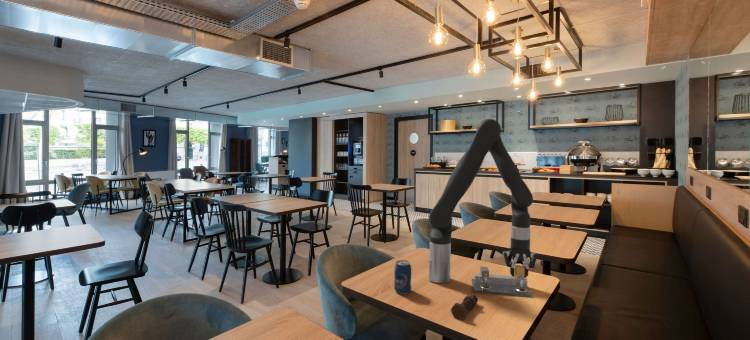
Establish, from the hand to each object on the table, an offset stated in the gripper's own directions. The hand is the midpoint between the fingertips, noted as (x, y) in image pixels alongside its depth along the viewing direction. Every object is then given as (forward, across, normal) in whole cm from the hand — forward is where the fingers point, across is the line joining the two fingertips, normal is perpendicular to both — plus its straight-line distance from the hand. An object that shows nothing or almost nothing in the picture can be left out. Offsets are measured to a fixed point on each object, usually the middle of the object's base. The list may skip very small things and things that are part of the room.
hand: (519, 276), depth 143 cm
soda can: (+5, -48, -13) cm, 50 cm away
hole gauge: (+5, -8, -3) cm, 10 cm away
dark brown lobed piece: (+5, -23, -25) cm, 35 cm away
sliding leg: (+3, 0, -1) cm, 3 cm away
